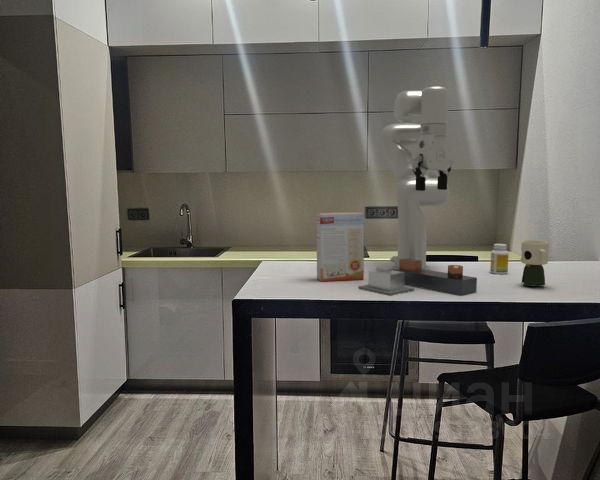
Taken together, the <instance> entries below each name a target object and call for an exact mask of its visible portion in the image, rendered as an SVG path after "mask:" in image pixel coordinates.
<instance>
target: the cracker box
mask: <svg viewBox="0 0 600 480" xmlns="http://www.w3.org/2000/svg"><path fill="white" fill-rule="evenodd" d="M315 215H316V216H315V217H316V218H315V220H316V221H315V222H316V225H315V226H316V230H315V231H316V235H315V236H316V279H317V280H319V282H336V281H356V280H358V281H359V280H364V277H365V274H364V273H365V264H364V263H365V255H364V252H365V246H364V245H365V244H364V243H365V239H364V238H365V233H364V231H365V230H364V229H365V227H364V226H365V225H364V224H365V223H364V221H365V220H364V219H365V218H364V212H359V211H356V212H355V211H353V212H351V211H350V212H321V213H320V212H319V213H318V212H317V213H316V214H315Z"/></svg>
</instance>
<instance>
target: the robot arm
mask: <svg viewBox="0 0 600 480" xmlns="http://www.w3.org/2000/svg"><path fill="white" fill-rule="evenodd" d="M448 104H449V91H448V89H447V88H446V87H444V86H436V85H435V86H428V87H425V88H423V89H422V90H404V91H400V92H399V93H398V94H397V95H396V97H395V101H394V110H393V114H394V118H395V119H396V120H397V122H399V123H393V124H392V123H391V124H389V125H386V126H384V128H382V130H381V135H380V143H381V147H382V150H383V153H384V155H385V157H386V158H387V160H388V161H389V162H390V165H391V167H392V171H393V174H394V177H395V179H396V182H397V184H396V186H395V187H396V188H395V195H396V203H397V216H398V217H397V218H398V220H397V255H396V256H394V255H393V256H391V257H390V259H389V261H390V262H391V263H394V265H393V267H392V269H397V268H399V259H404V258H408V259H415V260H422V269H425V270H431V267H430V266H428V265H427V234H428V233H427V229H428V227H427V226H428V224H427V223H428V222H427V220H428V219H427V217H426V215H425V213H423V211H422V209H420V207H437V206H438V207H439V206H444V205H445V204H447V202H448V201H449V199H450V188H449V184H448V177H449V176H450V172H451V170H452V166H453V162H454V161H453V160H451V158H450V157H451V153H450V152H451V151H450V141H449V135H447V133H448V111H449V110H448V107H449V105H448ZM408 147H409V148H411V147H412V148H413V147H417V149H416V157H415V156H414V154H413V153H412V151H411V150H409V149H408Z"/></svg>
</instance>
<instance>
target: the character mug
mask: <svg viewBox="0 0 600 480" xmlns="http://www.w3.org/2000/svg"><path fill="white" fill-rule="evenodd" d="M549 243H550V242H549V241H545V240H536V239H535V240H531V239H530V240H522V241H521V247H520V250H521V257H520V262H521V263H522V264H523V265H524V264H525V265H524V267H523V273H522V278H521V285H523V286H528V287H535V288H537V287H538V286H545V285H546V277H545V276H546V275H545V268H544V266H543V265H548V263H549V262H548V261H549V249H550V247H549V246H550V244H549Z"/></svg>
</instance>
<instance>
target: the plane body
mask: <svg viewBox="0 0 600 480" xmlns="http://www.w3.org/2000/svg"><path fill="white" fill-rule="evenodd" d="M391 269H392V270H394V271H400V272H405V284H406V285H405V286H409V285H411V286H410V287H414V286H417V287H416V288H419V287H423V288H422V289H425V288H427V289H426V290H430V289H432V290H431V291H435V290H436V291H437V292H440V291H441V293H446V294H451V295H456V296H465V295H470V294H474V293H476V292H477V290H478V289H477V287H478V285H477V283H478V278H477V277H475V276H471V275H470V276H469V275H464V273H463V272H464V266H463V265H462V264H461V265H460V264H448V265H447V272H441V271H436V270H431V269H430V270H425V269H422V260H415V259H408V258H404V259H399V268H397V269H393V268H391Z"/></svg>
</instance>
